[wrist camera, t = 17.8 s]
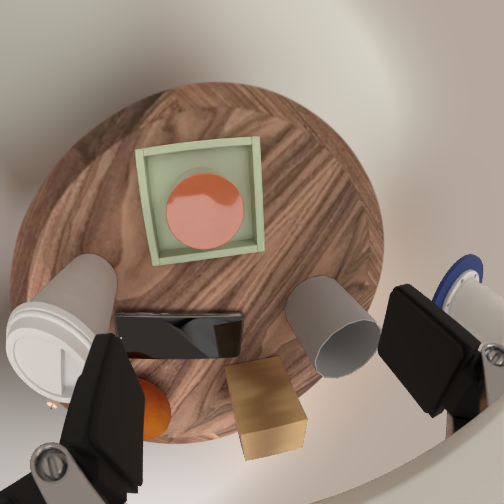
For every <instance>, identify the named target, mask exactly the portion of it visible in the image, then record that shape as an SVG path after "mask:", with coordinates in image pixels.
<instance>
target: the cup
mask: <svg viewBox="0 0 504 504" xmlns="http://www.w3.org/2000/svg"><path fill="white" fill-rule="evenodd" d="M285 313H286V317H287V321H288V322H289V324H290V326H291V328H292V329H293V331H294V333H295V335H296V337H297V338H298V340H299V342H300V344H301V345H302V347H303V349H304V351H305V352H306V354H307V356H308V358H309V359H310V361H311V363H312V365H313V366H314V368H315V370H316V372H317V373H319V374H320V375H322V376H323V377H324V378H340V377H343V376H346V375H349V374H352V373H353V372H355V371H356V370H358V369H359V368H361V367H362V366H364V365H365V364H366V363H367V362H368V361H369V360H370V358H371V357H372V356H373V355H374V354H375V353H376V351H377V348H378V343H379V339H380V336H381V332H382V329H381V328H380V326H379V325H378V324H377V322H376V321H375V320H374V319H373V318H372V317H371V316H370V315H369V314H368V313H367V312H366V311H365V310H364V309H363V308H362V307H361V306H360V305H359V304H358V303H357V302H356V301H355V299H354V298H353V297H352V296H351V295H350V294H349V293H348V292H347V291H346V290H345V289H344V288H343V287H342V286H341V285H340V284H339V283H338V282H337V281H336V280H335V279H332V278H329V277H326V276H318V277H312V278H309V279H307V280H305V281H304V282H302V283H301V284H299V285H297V286H296V288H295V289H294V290H293V291H292V293H291V294H290V295H289V297H288V299H287V303H286V306H285Z"/></svg>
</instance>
